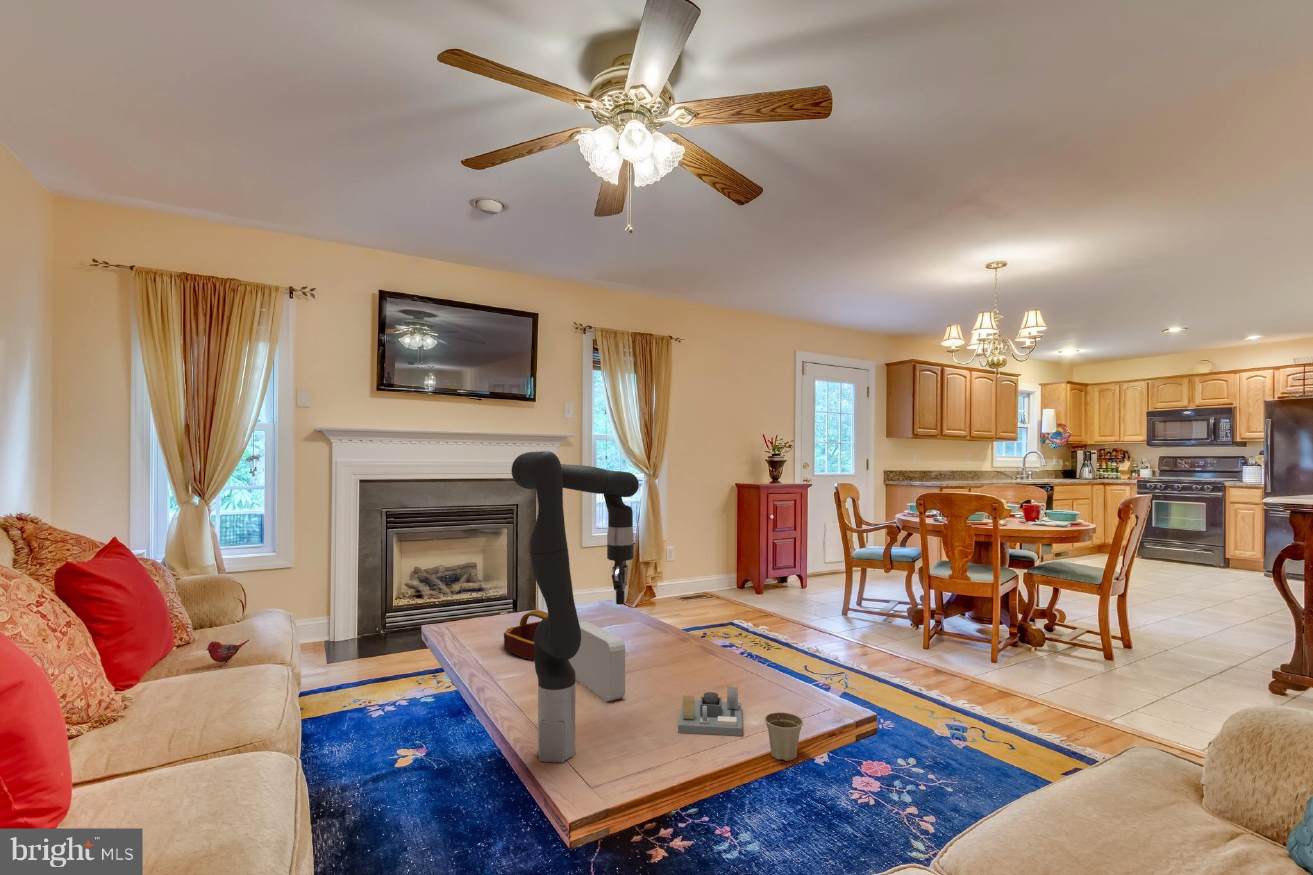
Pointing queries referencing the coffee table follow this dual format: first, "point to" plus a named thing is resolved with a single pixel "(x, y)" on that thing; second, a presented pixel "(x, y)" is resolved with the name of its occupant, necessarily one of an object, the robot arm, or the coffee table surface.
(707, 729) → the control board
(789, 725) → the flower pot
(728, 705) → the light grey block
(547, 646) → the robot arm
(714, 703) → the black button
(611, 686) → the rounded white slab
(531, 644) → the decorative basket
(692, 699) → the gold rectangular block
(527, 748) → the coffee table surface
